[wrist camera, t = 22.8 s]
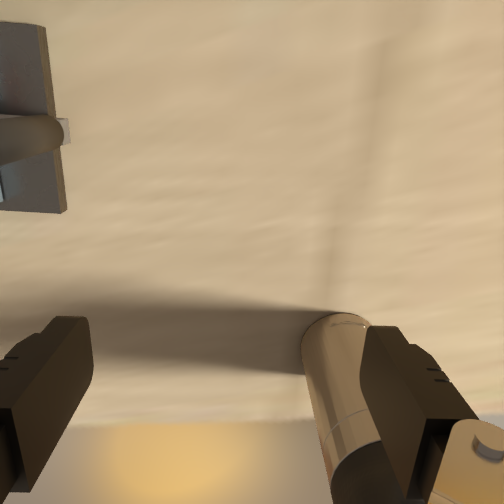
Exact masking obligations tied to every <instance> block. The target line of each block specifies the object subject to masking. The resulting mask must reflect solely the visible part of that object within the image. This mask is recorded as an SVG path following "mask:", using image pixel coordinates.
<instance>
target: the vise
mask: <svg viewBox="0 0 504 504" xmlns="http://www.w3.org/2000/svg"><path fill="white" fill-rule="evenodd" d="M0 114H5V115H20V116H30V115H39V114H46V115H50V116H52V117H54V118H56V111H55V103H54V95H53V87H52V78H51V70H50V62H49V53H48V45H47V37H46V29H45V27H42V26H39V25H32V24H19V23H6V22H0ZM0 186H1V191H2V197H3V201H2V202H0V210H5V211H22V212H40V213H57V214H61V213H63V212H64V211H66V210H67V202H66V194H65V186H64V178H63V169H62V161H61V153H60V147H59V148H57V149H55V150H51V151H48V152H45V153H42V154H38V155H35V156H32V157H28V158H25V159H22V160H19V161H15V162H12V163H9V164H5V165H2V166H0Z"/></svg>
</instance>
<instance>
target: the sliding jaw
mask: <svg viewBox="0 0 504 504" xmlns="http://www.w3.org/2000/svg"><path fill="white" fill-rule="evenodd" d="M69 143H71V141H70V132H69V123H68V119H64V118H54V117H52V116H50V115H46V114H39V115H30V116H20V115H5V114H0V166H2V165H5V164H9V163H12V162H15V161H19V160H22V159H25V158H28V157H32V156H35V155H38V154H42V153H45V152H48V151H51V150H55V149H57V148H59V147H60V146H61V145H66V144H69ZM2 201H3V197H2V191H1V186H0V202H2Z"/></svg>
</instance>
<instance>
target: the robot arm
mask: <svg viewBox="0 0 504 504" xmlns="http://www.w3.org/2000/svg"><path fill="white" fill-rule="evenodd" d="M300 350H301V357H302V361H303V366H304V370H305V375H306V380H307V385H308V390H309V394H310V399H311V403H312V408H313V412H314V417H315V422H316V426H317V431H318V435H319V440H320V445H321V449H322V454H323V458H324V462H325V467H326V471H327V476H328V481H329V485H330V489H331V495H332V500H333V504H504V430H503V429H501V428H499V427H497V426H495V425H493V424H490V423H488V422H484V421H481V420H479V418H478V417H477V416H476V414H475V413H474V412H473V410H472V409H471V408H470V406H469V405H468V404H467V402H466V401H465V400H464V398H463V397H462V396H461V394H460V393H459V392H458V390H457V389H456V388H455V386H454V385H453V384H452V382H449V378H448V377H447V376H446V374H445V373H444V372H443V371H441V368H440V366H439V365H438V364H437V362H436V361H435V360H434V358H433V357H432V356H431V355H430V354H429V353H427V352H426V351H424V350H423V349H422V348H420V347H419V346H418V345H416V344H409V343H408V341H407V340H406V338H405V337H404V336H403V334H402V333H401V331H400V330H399V328H398V327H396V326H372V325H371V324H370V323H369V322H368V321H366V320H365V319H363V318H361V317H359V316H356V315H353V314H346V313H344V314H334V315H329V316H327V317H324V318H322V319H320V320H318V321H317V322H315V323H314V324H313V325H312V326H311V327H310V328H309V329H308V330H307V331H306V333H305V334H304V336H303V339H302V341H301V348H300ZM93 367H94V365H93V355H92V347H91V338H90V330H89V323H88V320H87V318H86V317H78V316H56V317H55V318H54V319H53V320H52V321H51V322H50V323H49V324H48V325H47V326H46V328H45V329H44V330H43V331H42V332H41V333H34V334H32V335H31V336H29V337H27V338H26V339H24V340H22V341H21V342H19V343H17V344H16V345H15V346H14V347H13V348H12V349H11V350H10V351H9V352H8V353H7V354H6V355H5V356H4V359H2V360H1V361H0V504H3V502H4V500H5V499H6V497H7V495H8V493H9V492H31V490H32V488H33V486H34V484H35V482H36V481H37V479H38V477H39V475H40V474H41V472H42V470H43V468H44V466H45V465H46V463H47V461H48V459H49V457H50V455H51V453H52V452H53V450H54V448H55V446H56V445H57V443H58V441H59V439H60V438H61V436H62V434H63V432H64V430H65V429H66V427H67V425H68V423H69V421H70V420H71V418H72V416H73V414H74V412H75V410H76V409H77V407H78V405H79V403H80V401H81V400H82V398H83V396H84V394H85V392H86V391H87V389H88V387H89V385H90V383H91V380H92V375H93Z"/></svg>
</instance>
